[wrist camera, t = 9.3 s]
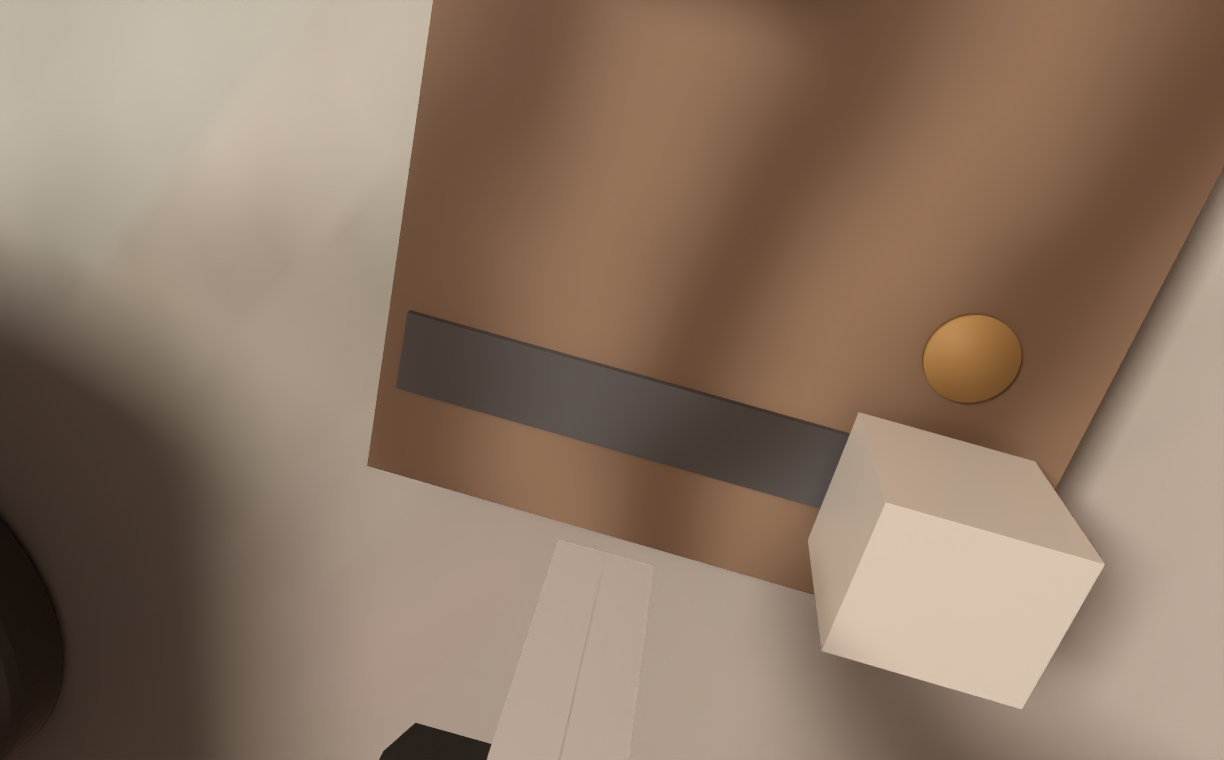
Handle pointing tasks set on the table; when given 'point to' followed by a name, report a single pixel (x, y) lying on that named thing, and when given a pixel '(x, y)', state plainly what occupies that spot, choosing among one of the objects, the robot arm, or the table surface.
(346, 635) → the table surface
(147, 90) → the table surface
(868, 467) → the tab
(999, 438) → the switch panel
